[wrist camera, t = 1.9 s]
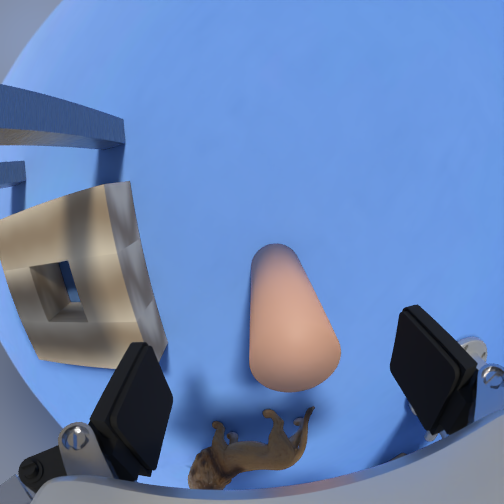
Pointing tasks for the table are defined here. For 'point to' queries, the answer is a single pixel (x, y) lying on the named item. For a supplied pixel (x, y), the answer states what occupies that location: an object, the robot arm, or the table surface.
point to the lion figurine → (247, 453)
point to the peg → (288, 324)
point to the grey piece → (50, 127)
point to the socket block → (82, 277)
